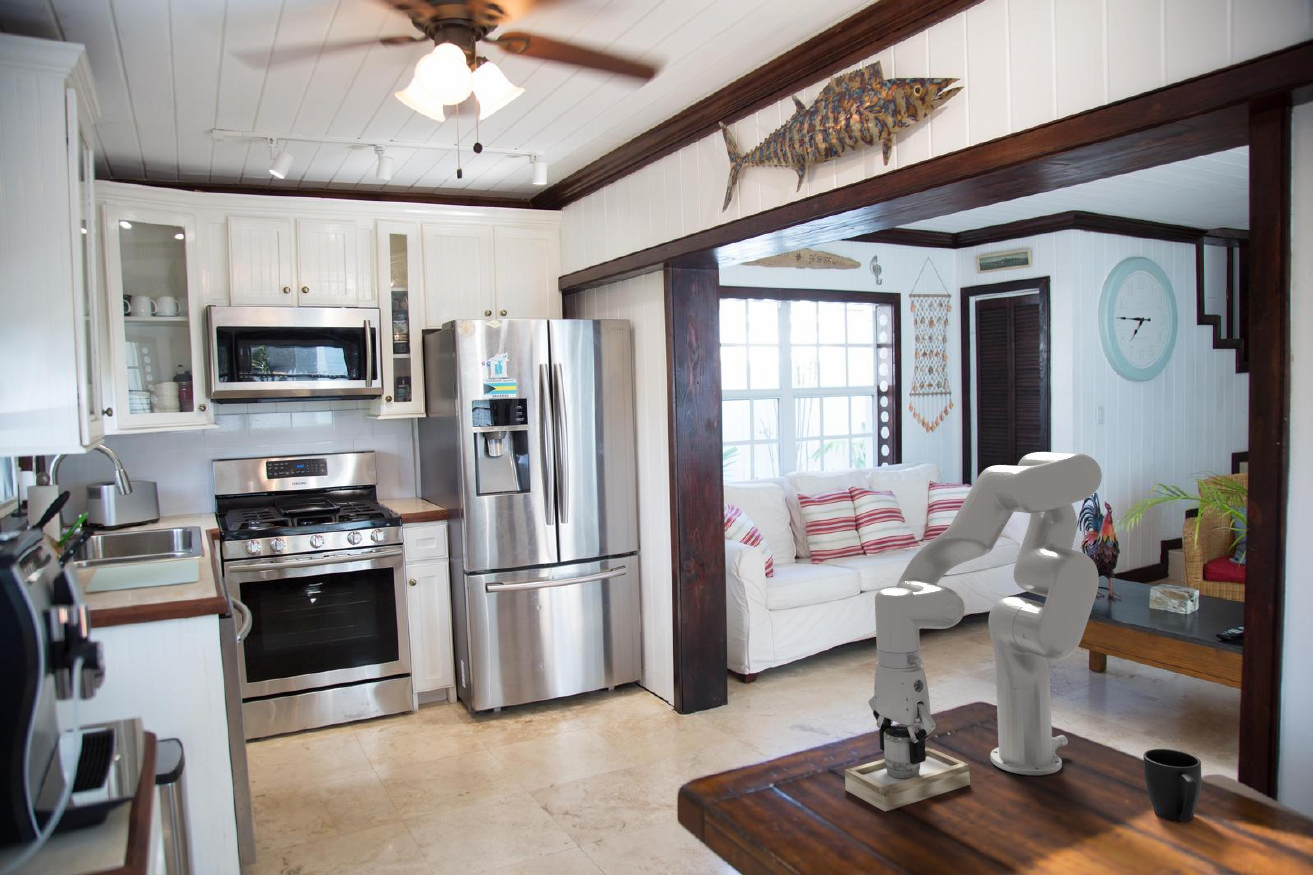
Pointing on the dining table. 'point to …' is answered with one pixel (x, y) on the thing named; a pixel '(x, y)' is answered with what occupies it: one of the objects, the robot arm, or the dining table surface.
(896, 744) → the camera lens
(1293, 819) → the dining table surface
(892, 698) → the robot arm
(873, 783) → the beige rimmed shallow tray
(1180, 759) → the mug
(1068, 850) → the dining table surface
